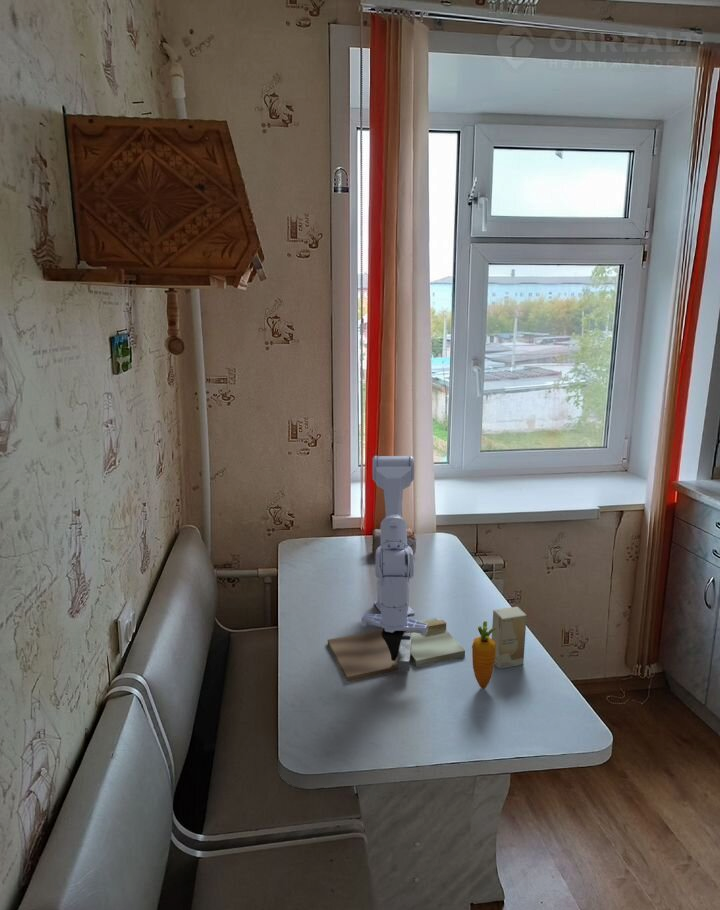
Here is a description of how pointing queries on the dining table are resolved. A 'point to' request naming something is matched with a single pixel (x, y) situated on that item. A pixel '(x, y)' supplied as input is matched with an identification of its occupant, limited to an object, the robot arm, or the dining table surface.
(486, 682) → the carrot
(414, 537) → the food item
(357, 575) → the dining table surface
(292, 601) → the dining table surface
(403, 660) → the swing bar
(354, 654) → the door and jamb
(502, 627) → the skincare box
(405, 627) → the robot arm
